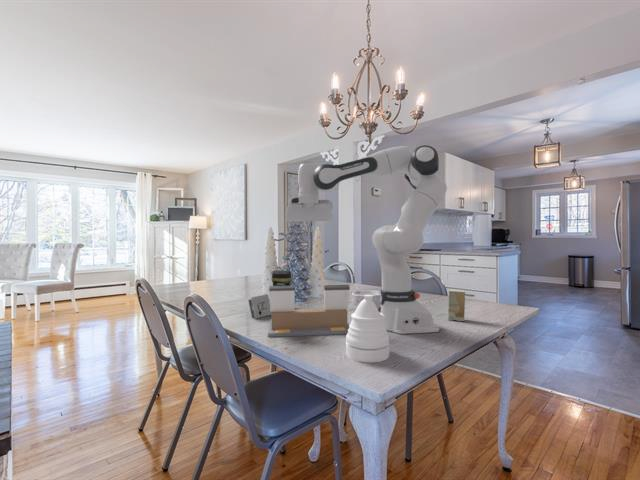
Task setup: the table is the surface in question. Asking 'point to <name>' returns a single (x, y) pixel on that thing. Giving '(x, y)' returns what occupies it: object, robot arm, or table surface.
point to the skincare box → (456, 305)
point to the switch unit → (308, 322)
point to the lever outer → (282, 298)
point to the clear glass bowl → (359, 296)
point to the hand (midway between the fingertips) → (309, 231)
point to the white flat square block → (336, 297)
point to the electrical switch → (260, 306)
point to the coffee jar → (281, 278)
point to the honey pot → (367, 334)
